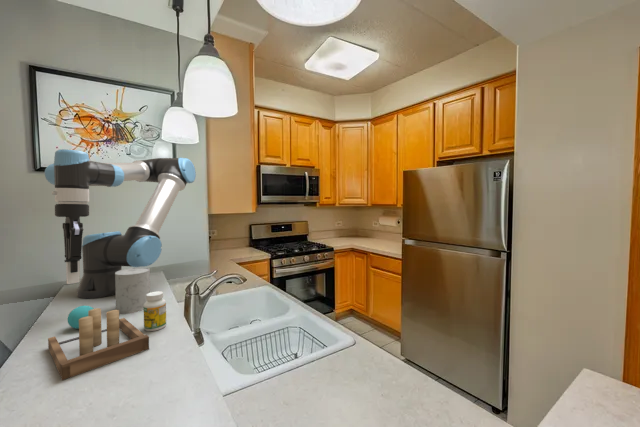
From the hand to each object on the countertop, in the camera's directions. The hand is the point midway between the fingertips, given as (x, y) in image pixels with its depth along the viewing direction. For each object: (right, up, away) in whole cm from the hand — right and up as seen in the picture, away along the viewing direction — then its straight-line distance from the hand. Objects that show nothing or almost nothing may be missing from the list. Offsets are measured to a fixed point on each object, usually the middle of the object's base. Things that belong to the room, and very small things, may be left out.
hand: (73, 282), depth 81 cm
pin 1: (+20, -12, -19) cm, 30 cm away
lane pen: (+20, -12, -16) cm, 28 cm away
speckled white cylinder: (+11, -11, +9) cm, 18 cm away
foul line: (+13, -11, -10) cm, 20 cm away
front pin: (+18, -12, -14) cm, 26 cm away
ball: (+7, -8, -5) cm, 12 cm away
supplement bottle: (+27, -12, -5) cm, 30 cm away
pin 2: (+23, -12, -15) cm, 30 cm away
